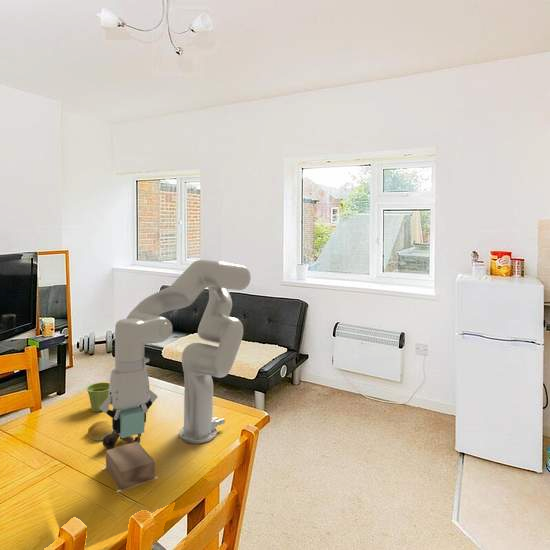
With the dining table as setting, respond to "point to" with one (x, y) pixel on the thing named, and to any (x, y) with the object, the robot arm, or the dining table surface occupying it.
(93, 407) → the plant pot
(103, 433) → the bread roll
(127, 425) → the teal cube
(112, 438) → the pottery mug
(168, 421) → the dining table surface
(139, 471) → the plinth
